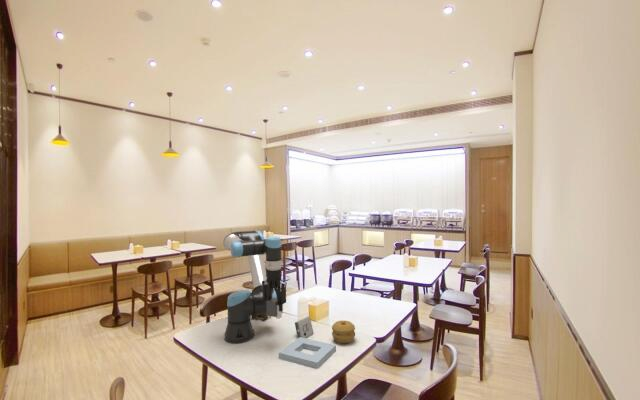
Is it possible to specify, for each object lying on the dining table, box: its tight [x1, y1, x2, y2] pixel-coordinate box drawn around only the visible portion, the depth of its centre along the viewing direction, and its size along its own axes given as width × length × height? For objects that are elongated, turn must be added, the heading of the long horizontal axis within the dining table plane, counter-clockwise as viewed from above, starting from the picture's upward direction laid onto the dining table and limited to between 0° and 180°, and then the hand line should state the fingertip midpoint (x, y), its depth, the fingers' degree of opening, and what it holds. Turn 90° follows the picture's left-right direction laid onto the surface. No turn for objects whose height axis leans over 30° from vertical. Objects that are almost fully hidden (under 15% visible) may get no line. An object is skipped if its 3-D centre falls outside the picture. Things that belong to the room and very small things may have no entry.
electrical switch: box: [294, 316, 314, 339], centre depth 162 cm, size 9×5×9 cm, turn 141°
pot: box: [331, 320, 356, 344], centre depth 155 cm, size 12×12×10 cm
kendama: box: [250, 313, 269, 322], centre depth 190 cm, size 6×10×20 cm
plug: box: [266, 298, 283, 319], centre depth 150 cm, size 5×6×8 cm
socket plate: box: [278, 337, 337, 369], centre depth 142 cm, size 20×18×2 cm
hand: (274, 316), depth 150 cm, fingers closed on plug, 5 cm apart
